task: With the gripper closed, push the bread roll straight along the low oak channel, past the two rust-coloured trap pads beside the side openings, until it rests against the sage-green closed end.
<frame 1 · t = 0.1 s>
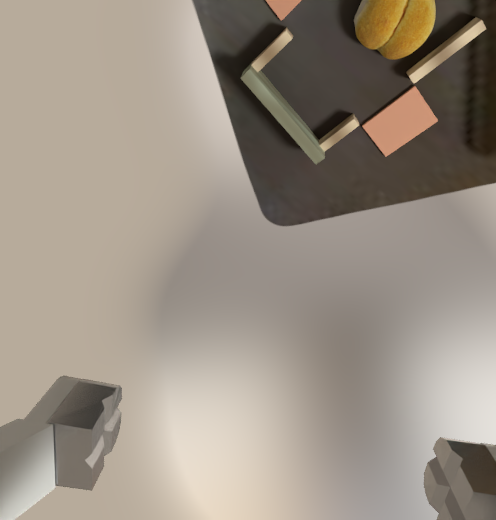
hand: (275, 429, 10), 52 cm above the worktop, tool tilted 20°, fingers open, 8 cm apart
trap pads: (356, 47, 51), on the worktop
bread roll: (391, 16, 48), on the worktop
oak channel: (356, 47, 51), on the worktop
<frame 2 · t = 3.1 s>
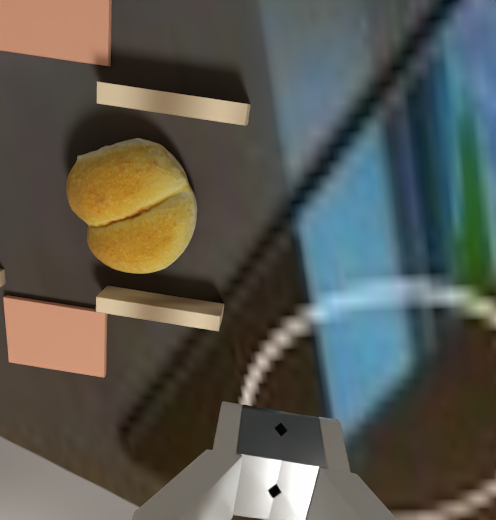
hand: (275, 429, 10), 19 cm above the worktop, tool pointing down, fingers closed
trap pads: (66, 195, 28), on the worktop
bread roll: (139, 202, 29), on the worktop
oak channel: (66, 195, 28), on the worktop
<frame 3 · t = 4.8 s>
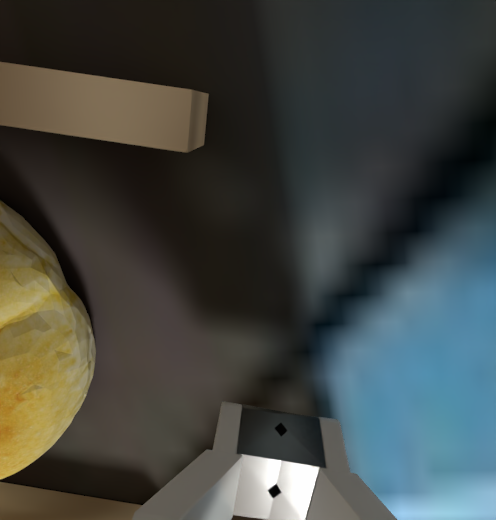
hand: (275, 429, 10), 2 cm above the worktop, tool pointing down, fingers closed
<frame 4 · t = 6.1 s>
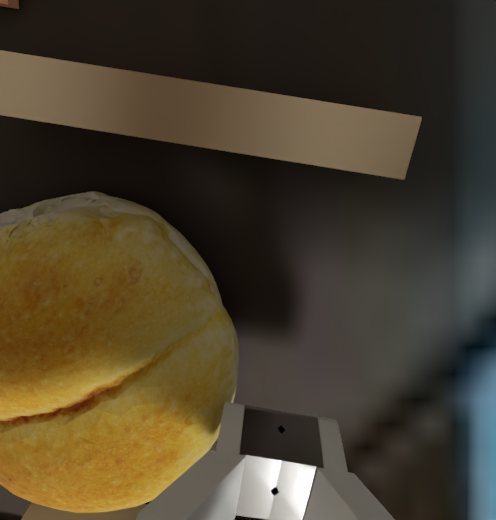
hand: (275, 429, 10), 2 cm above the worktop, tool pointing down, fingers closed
bread roll: (103, 327, 13), on the worktop, touching gripper
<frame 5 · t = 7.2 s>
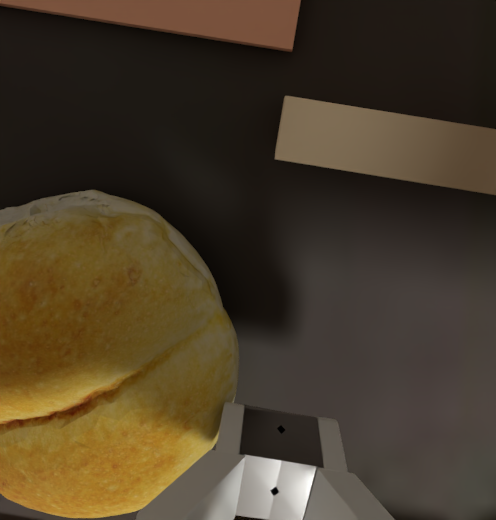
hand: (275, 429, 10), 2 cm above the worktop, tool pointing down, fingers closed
trap pads: (141, 351, 12), on the worktop
bread roll: (101, 328, 12), on the worktop, touching gripper
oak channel: (141, 351, 12), on the worktop
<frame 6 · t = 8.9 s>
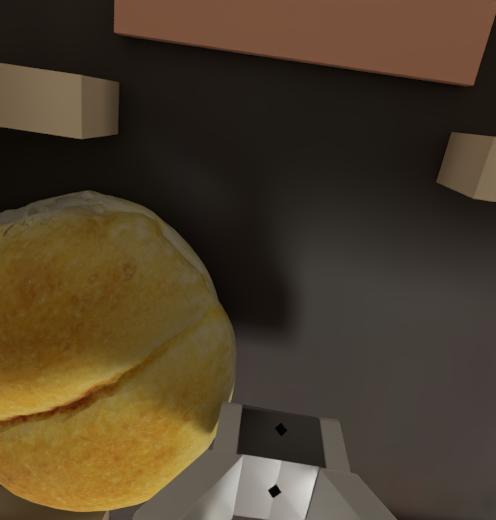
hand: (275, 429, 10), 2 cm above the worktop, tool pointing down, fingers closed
trap pads: (273, 379, 12), on the worktop
bread roll: (101, 326, 13), on the worktop, touching gripper
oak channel: (273, 379, 12), on the worktop
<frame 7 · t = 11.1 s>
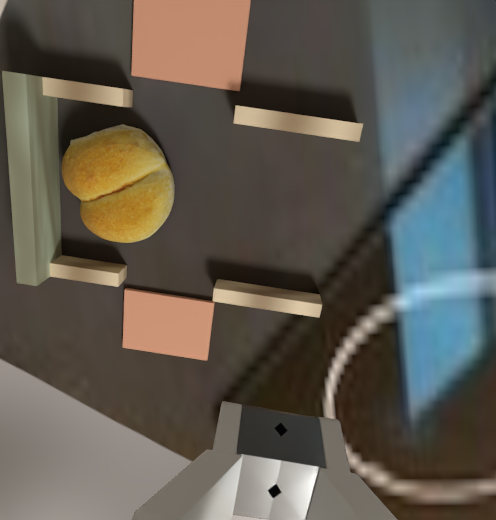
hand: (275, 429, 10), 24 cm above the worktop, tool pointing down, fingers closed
trap pads: (189, 200, 33), on the worktop
bread roll: (125, 181, 33), on the worktop
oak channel: (189, 200, 33), on the worktop
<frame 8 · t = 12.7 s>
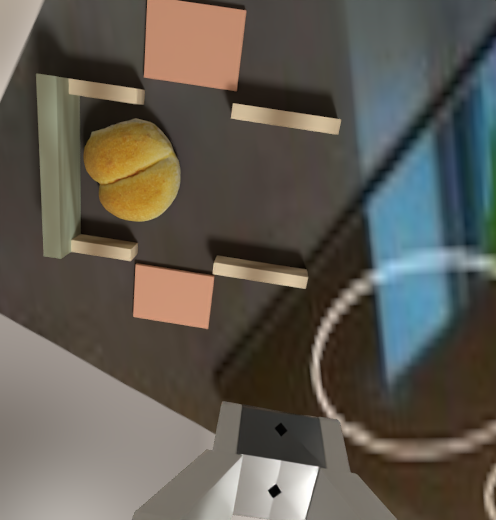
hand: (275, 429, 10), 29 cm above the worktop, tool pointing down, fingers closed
trap pads: (193, 186, 38), on the worktop
bread roll: (137, 168, 38), on the worktop
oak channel: (193, 186, 38), on the worktop
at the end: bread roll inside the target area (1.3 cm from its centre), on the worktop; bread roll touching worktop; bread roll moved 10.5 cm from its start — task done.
